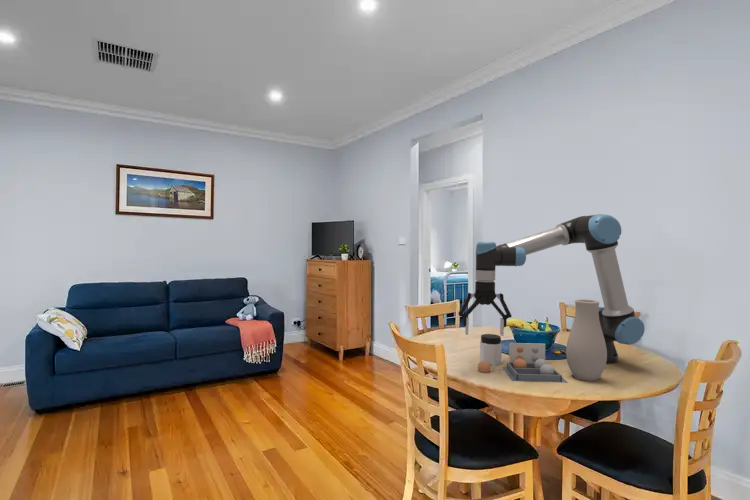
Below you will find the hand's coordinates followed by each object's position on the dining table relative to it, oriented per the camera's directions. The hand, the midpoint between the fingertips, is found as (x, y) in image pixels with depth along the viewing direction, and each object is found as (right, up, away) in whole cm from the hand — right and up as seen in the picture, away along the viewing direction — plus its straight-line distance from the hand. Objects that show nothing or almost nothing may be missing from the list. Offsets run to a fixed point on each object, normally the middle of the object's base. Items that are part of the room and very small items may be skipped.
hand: (484, 334), depth 164 cm
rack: (+18, -16, -4) cm, 24 cm away
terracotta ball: (+14, -14, 0) cm, 20 cm away
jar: (+6, -15, +13) cm, 21 cm away
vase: (+37, -16, -7) cm, 40 cm away
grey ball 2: (+22, -15, -8) cm, 27 cm away
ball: (0, -15, 0) cm, 15 cm away
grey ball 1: (+22, -14, -1) cm, 26 cm away
